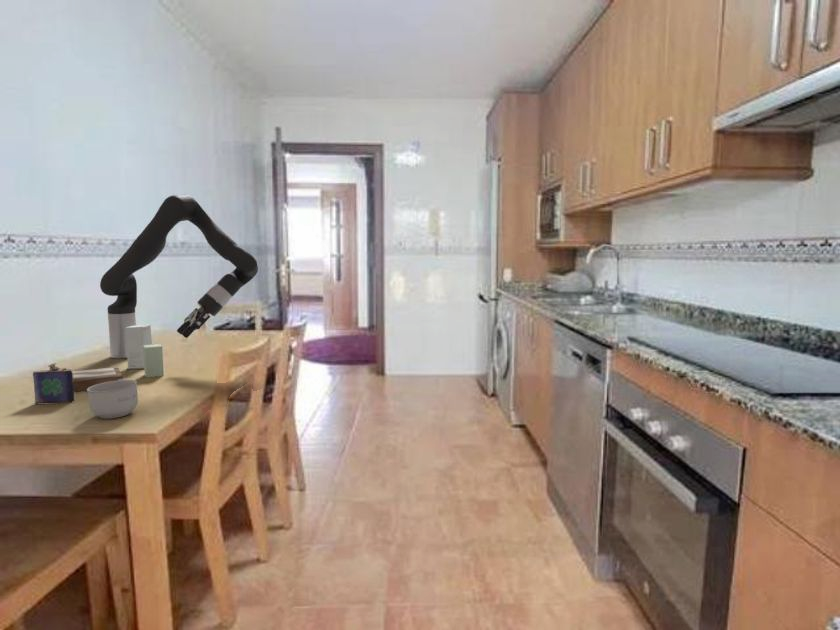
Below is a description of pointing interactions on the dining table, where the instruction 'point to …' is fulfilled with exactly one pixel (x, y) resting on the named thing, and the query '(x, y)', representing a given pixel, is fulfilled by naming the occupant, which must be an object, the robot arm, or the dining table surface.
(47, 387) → the flask
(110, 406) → the teacup
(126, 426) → the dining table surface
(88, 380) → the base block
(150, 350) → the green block
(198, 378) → the dining table surface
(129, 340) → the skincare box
